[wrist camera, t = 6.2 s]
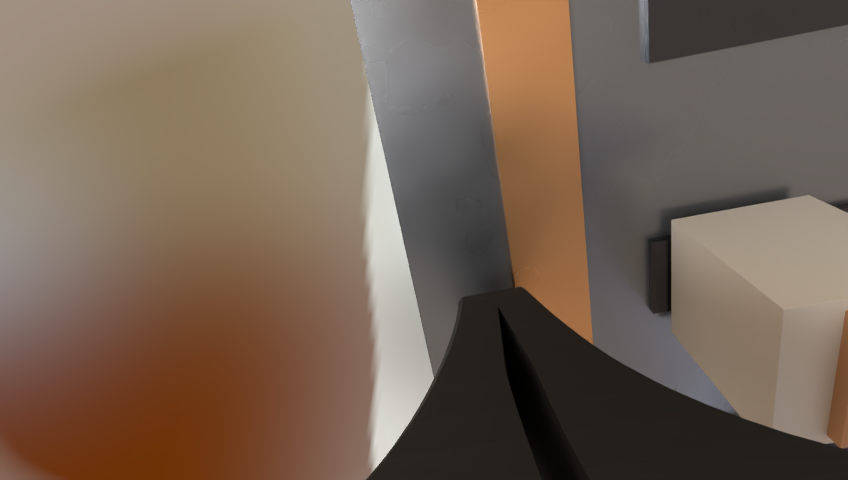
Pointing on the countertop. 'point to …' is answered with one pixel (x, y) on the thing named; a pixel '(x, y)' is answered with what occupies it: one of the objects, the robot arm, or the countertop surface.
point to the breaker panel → (596, 147)
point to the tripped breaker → (768, 311)
